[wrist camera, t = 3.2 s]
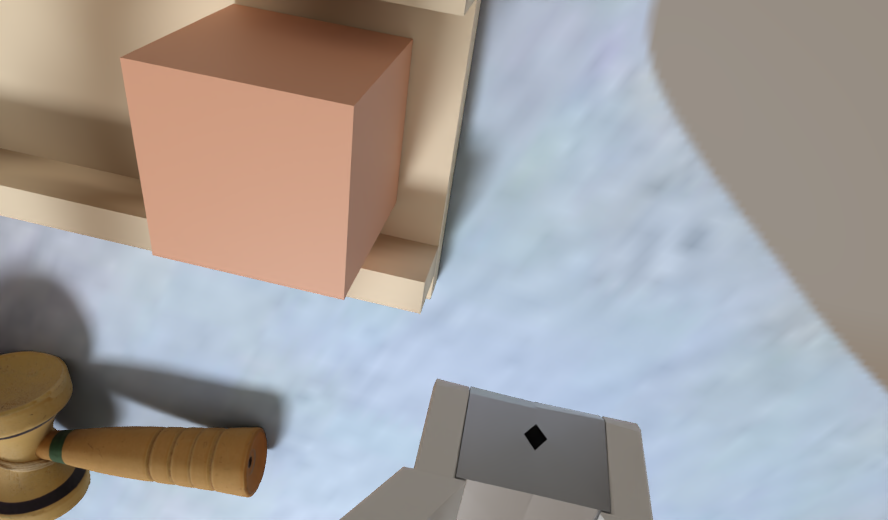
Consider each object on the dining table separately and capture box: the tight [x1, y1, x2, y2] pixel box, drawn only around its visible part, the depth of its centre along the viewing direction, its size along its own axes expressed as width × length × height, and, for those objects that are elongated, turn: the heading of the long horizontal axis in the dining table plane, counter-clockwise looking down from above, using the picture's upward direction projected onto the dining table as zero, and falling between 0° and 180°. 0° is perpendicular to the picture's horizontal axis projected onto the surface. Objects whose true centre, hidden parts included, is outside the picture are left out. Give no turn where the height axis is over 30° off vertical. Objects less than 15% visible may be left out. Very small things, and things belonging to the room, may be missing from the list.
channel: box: [0, 0, 481, 314], centre depth 17 cm, size 20×12×6 cm, turn 83°
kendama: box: [0, 351, 267, 520], centre depth 29 cm, size 8×6×18 cm
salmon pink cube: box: [120, 4, 413, 300], centre depth 16 cm, size 5×5×5 cm
